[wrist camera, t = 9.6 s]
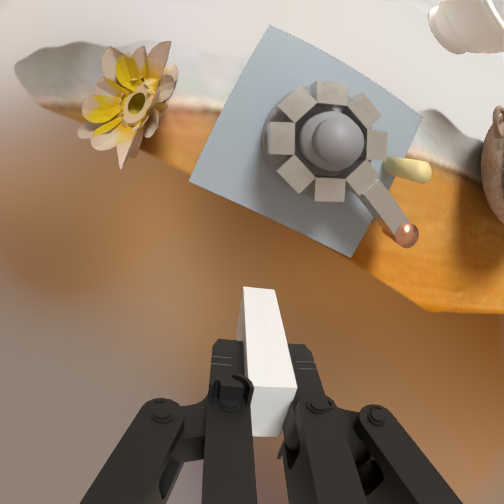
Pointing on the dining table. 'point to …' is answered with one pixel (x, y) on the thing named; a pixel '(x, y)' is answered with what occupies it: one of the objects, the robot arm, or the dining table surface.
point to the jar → (469, 25)
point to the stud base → (302, 142)
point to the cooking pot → (494, 164)
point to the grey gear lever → (353, 177)
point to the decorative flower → (128, 99)
